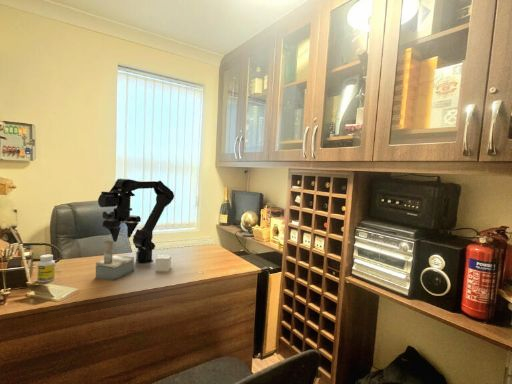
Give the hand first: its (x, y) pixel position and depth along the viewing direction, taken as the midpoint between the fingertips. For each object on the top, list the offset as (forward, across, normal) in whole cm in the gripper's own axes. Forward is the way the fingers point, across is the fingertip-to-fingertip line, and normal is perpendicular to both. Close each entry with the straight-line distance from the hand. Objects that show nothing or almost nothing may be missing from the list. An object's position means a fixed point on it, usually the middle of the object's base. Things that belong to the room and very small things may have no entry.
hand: (122, 239), depth 128 cm
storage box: (+13, +8, +4) cm, 16 cm away
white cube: (+13, -5, +18) cm, 23 cm away
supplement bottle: (+13, +23, -16) cm, 31 cm away
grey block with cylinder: (+8, +8, +4) cm, 12 cm away
